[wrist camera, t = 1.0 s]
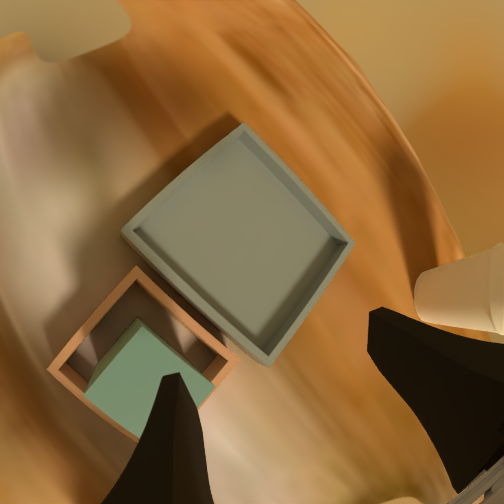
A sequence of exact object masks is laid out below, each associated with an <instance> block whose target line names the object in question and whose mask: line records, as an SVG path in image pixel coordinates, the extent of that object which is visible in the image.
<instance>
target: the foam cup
mask: <svg viewBox="0 0 504 504" xmlns="http://www.w3.org/2000/svg"><path fill="white" fill-rule="evenodd" d="M414 305H415V308H416V312H417V314H418V316H419V317H420V319H421V320H422V321H425V322H430V323H435V324H441V325H448V326H454V327H461V328H468V329H475V330H482V331H489V332H496V333H498V334H501V335H504V242H503V243H499V244H497V245H495V246H494V247H493V248H491V249H488V250H486V251H483V252H480V253H477V254H474V255H472V256H469V257H466V258H463V259H460V260H457V261H454V262H451V263H448V264H445V265H442V266H439V267H436V268H433V269H430V270H427V271H424V272H422V273H421V274H420V275H419V277H418V278H417V280H416V284H415V288H414Z"/></svg>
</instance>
